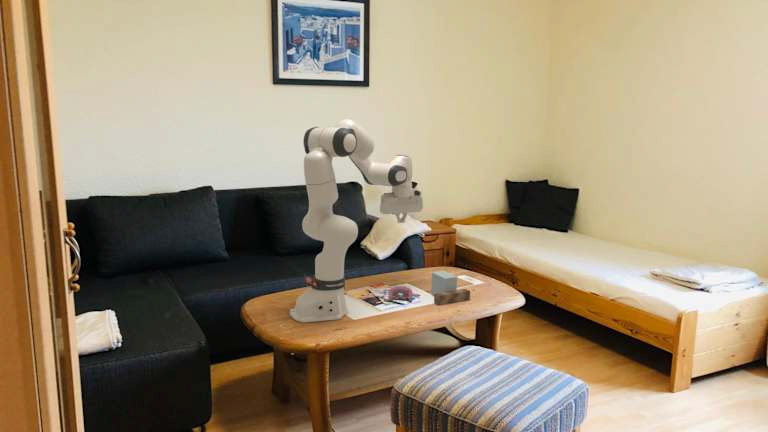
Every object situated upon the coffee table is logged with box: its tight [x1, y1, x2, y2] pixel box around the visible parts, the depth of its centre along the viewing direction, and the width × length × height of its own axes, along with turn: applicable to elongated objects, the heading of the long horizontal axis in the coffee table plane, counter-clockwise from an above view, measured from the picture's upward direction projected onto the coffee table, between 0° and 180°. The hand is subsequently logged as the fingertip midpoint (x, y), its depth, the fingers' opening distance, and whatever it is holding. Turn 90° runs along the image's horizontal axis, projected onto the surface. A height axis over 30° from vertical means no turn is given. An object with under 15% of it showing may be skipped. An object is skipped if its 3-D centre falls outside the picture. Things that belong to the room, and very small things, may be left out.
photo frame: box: [455, 274, 486, 290], centre depth 265 cm, size 15×1×18 cm
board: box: [433, 288, 471, 306], centre depth 239 cm, size 16×3×4 cm, turn 118°
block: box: [430, 270, 458, 297], centre depth 244 cm, size 6×10×10 cm, turn 28°
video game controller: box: [388, 285, 413, 303], centre depth 239 cm, size 10×5×7 cm, turn 85°
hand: (401, 222), depth 254 cm, fingers closed
